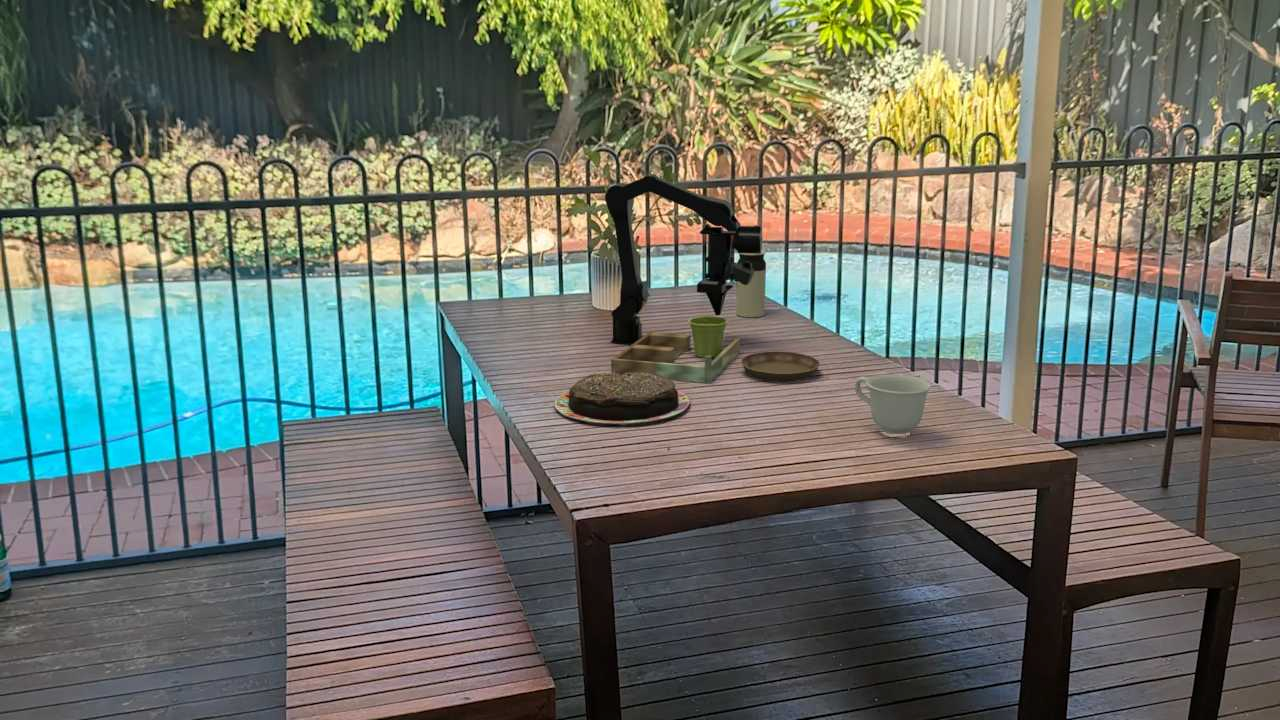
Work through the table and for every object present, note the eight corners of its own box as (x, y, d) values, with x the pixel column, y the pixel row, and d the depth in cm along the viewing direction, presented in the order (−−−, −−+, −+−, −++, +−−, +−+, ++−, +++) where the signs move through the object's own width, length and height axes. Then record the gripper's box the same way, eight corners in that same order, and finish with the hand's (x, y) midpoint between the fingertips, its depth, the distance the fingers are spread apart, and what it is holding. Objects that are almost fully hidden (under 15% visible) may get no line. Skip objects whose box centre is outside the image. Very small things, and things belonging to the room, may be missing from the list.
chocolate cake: (538, 396, 231) (537, 366, 229) (660, 383, 240) (660, 354, 239) (577, 436, 206) (577, 403, 204) (712, 420, 215) (712, 388, 213)
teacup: (868, 416, 215) (870, 368, 213) (938, 431, 206) (942, 381, 204) (838, 432, 206) (840, 381, 204) (910, 448, 197) (914, 396, 195)
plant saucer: (817, 387, 236) (818, 373, 235) (736, 383, 240) (736, 369, 239) (820, 366, 253) (821, 353, 252) (745, 362, 256) (745, 349, 255)
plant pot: (681, 357, 260) (681, 322, 257) (698, 348, 268) (698, 314, 265) (717, 362, 255) (718, 326, 253) (733, 353, 263) (733, 318, 261)
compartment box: (611, 374, 245) (610, 348, 244) (650, 345, 271) (650, 321, 269) (709, 383, 238) (710, 357, 237) (740, 352, 264) (740, 328, 262)
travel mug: (769, 313, 305) (771, 250, 300) (756, 319, 298) (758, 254, 294) (743, 310, 309) (745, 248, 304) (731, 316, 302) (732, 252, 298)
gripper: (742, 260, 253) (741, 325, 257) (760, 248, 270) (758, 309, 275) (696, 258, 257) (695, 322, 261) (716, 246, 274) (715, 306, 278)
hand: (718, 314), depth 269 cm, fingers closed
